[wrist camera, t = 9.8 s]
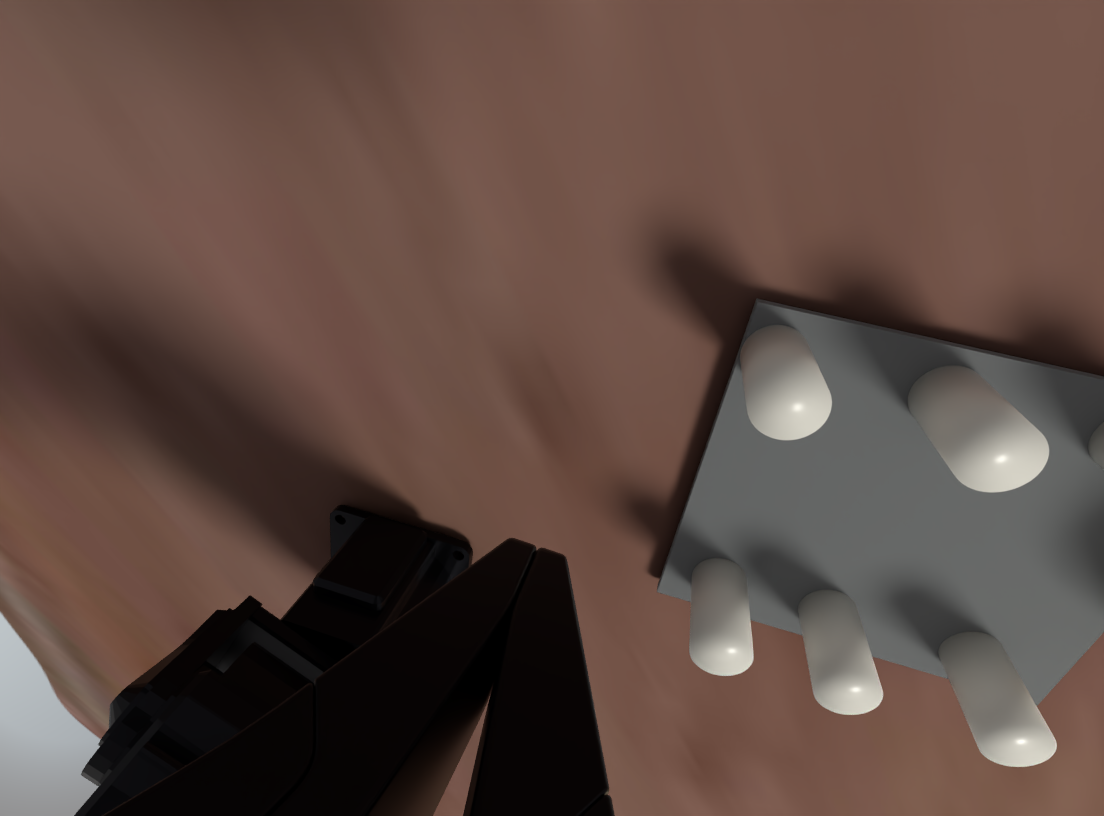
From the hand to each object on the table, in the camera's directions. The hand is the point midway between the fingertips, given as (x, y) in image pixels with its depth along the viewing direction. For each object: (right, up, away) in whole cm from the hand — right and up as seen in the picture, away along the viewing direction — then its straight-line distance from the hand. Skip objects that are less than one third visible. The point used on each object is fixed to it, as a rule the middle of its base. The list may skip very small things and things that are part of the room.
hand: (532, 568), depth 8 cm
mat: (+12, -1, +11) cm, 17 cm away
